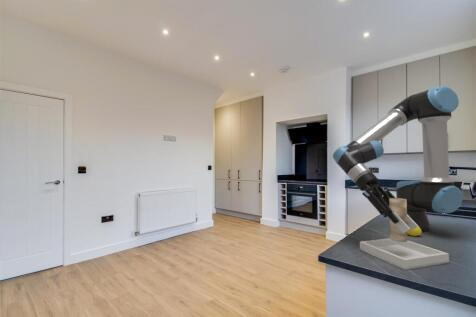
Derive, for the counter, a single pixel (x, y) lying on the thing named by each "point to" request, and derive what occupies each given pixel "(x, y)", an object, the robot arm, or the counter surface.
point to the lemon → (414, 231)
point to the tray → (404, 253)
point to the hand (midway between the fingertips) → (410, 229)
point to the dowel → (401, 210)
